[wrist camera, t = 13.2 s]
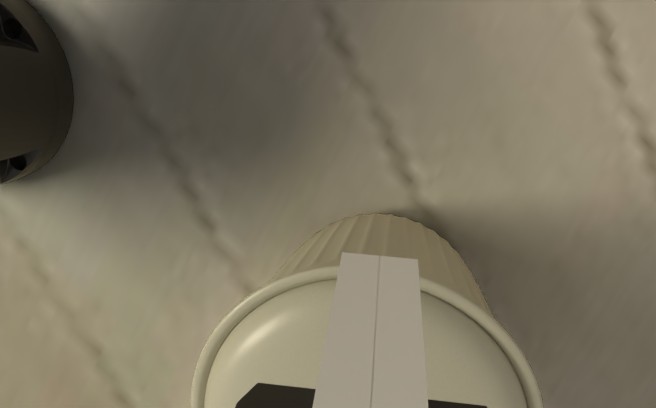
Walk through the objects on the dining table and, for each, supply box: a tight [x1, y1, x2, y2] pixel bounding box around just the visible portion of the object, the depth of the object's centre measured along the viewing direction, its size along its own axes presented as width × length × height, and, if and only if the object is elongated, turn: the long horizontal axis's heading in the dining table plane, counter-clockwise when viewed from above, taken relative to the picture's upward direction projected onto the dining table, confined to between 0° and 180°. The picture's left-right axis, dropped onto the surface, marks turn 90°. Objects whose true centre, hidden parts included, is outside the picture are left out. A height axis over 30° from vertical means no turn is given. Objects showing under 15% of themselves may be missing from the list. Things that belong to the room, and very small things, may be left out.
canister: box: [191, 213, 544, 408], centre depth 37 cm, size 18×18×21 cm
